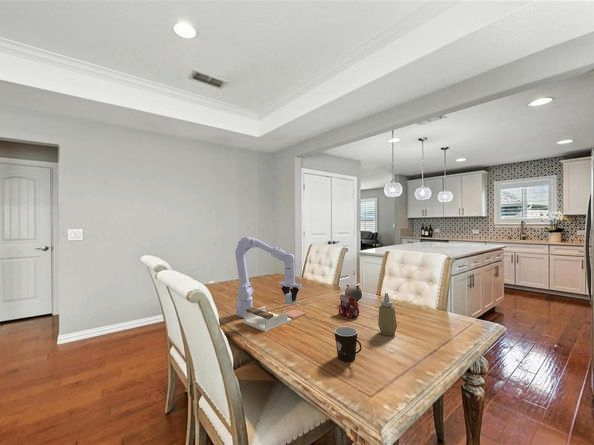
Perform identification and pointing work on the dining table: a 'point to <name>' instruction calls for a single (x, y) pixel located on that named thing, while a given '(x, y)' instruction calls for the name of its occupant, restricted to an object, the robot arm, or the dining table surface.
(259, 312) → the sliding bar
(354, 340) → the coffee mug
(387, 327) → the squeeze bottle
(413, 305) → the dining table surface
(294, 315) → the salmon pink tile
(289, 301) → the slate block
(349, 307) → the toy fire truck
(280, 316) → the puzzle board
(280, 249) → the robot arm
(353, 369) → the dining table surface
